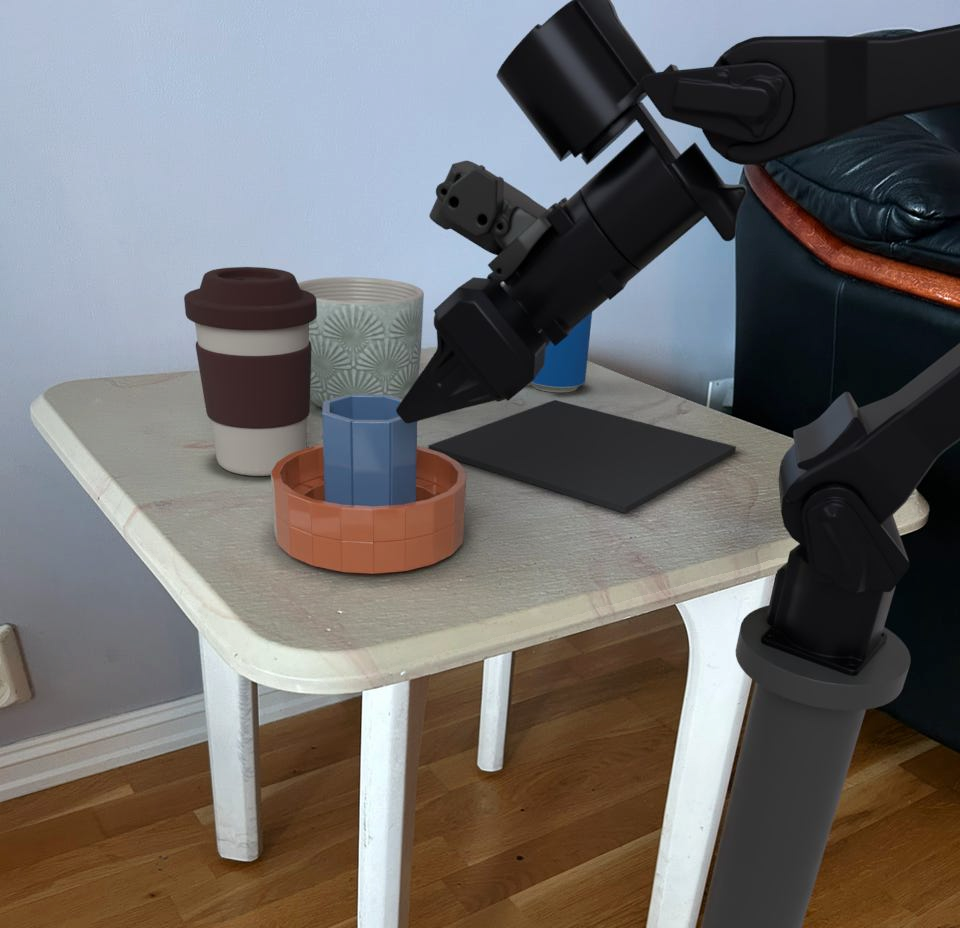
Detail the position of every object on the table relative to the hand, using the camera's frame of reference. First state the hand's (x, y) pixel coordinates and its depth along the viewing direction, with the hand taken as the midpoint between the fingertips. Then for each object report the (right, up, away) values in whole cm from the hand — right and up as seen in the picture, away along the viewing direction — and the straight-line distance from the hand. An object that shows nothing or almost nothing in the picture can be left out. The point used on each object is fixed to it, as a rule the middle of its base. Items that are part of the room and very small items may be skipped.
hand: (422, 396), depth 64 cm
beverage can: (+12, +12, +43) cm, 46 cm away
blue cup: (-4, -8, +6) cm, 11 cm away
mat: (+13, +1, +24) cm, 28 cm away
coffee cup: (-14, -1, +18) cm, 23 cm away
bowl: (-4, -9, +6) cm, 11 cm away
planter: (-8, +7, +34) cm, 36 cm away
